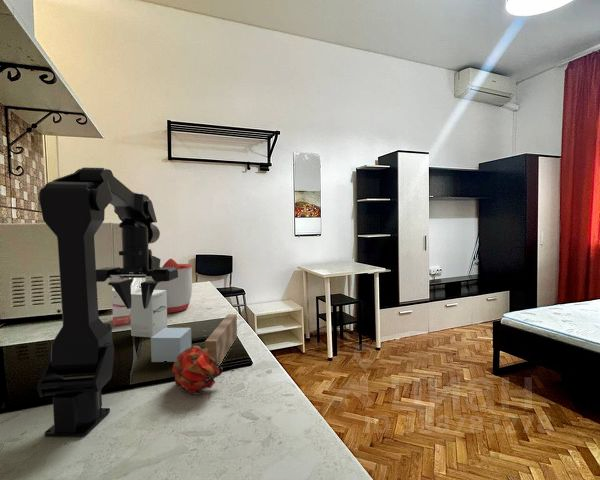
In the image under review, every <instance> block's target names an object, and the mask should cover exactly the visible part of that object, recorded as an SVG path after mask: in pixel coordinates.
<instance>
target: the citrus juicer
mask: <svg viewBox="0 0 600 480" xmlns="http://www.w3.org/2000/svg"><path fill="white" fill-rule="evenodd" d="M162 267H175V268H176V269H177V271H178V278H175V279H173V280H170V281H162V282H159V283H158V284H157V285H156V287H155V289H154V290H166V294H167V314H170V313H177V312H182V311H185V310H187V309H188V308H189V305H190V302H191V299H192V293H193V274H192V272H193V269H192V267H193V265H192V264H189V263H178V262H176V261H175V260H174V259H173V258H169V259H168V260H166V262H165V263H164V264H163V265H162ZM159 268H161V266H160V267H159Z"/></svg>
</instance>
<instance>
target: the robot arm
mask: <svg viewBox="0 0 600 480" xmlns="http://www.w3.org/2000/svg"><path fill="white" fill-rule="evenodd" d="M37 201H38V204H39V207H40V210H41V217H42V221H43V222H44V223H45V225H46V226H47V227H48V228H49V229H50V231H51V232H52V233H53V234H54V235H55V237H56V240H57V241H56V243H57V254H58V255H57V256H58V270H59V282H60V283H59V285H60V286H59V287H60V298H61V299H60V301H61V302H60V303H61V314H62V327H61V328H60V329H59V331H58V332H57V334H56V336H55V338H54V339H53V341H52V343H51V346H50V347H51V348H50V349H51V351H50V356H49V358H48V360H47V363H46V365H45V366H44V370H43V371H42V373H41V376H40V378H39V380H38V383H37V384H36V391H37V393H38V395H39V397H46V396H52V407H53V408H52V410H53V413H52V414H53V424H52V426H51V427H49V428H48V429H46V430H45V431H44V436H45V437H85V436H86V435H87V434H88V433H90V431H92V429H93V428H94V427H96V426H97V425H98V424H99V423H100V422H101V421H102V420H103V419H104V418H105V417H106V416H107V415H108V414H110V413H111V408H109V407H103V402H102V400H103V399H102V389H103V388H104V387H105V385H106V384H107V383H109V381H110V380H111V379H112V377H113V368H114V361H115V346H114V341H113V327H112V326H111V323H109V322H107V323H104V322H103V321H102V320H101V319H100V317H99V316H100V315H99V302H98V283H99V282H100V283H101V282H106V281H107V280H108V279H109V282H107V285H108V286H111V288H112V287H113V288H114V289H115V291H116V292H117V293H118V295H119V296H120V298H121V299H122V301H123V303H124V304H125V306H126V307H127V309H130V308H131V294H132V283H133V278H134V279H140V278H141V279H144V278H145V281H143V282H140V290H141V291H140V292H142V302H143V307H144V309H146V308H148V305H149V302H150V299H151V296H152V293H153V291H154V289H155V287H156V285H157V284H158V283H159V282H162V281H170V280H173V279H175V278H178V271H177V269H176V268H175V267H163V266H161V258H159V257H157V256H155V255H153V253H152V249H151V248H150V249H149V245H151V244H155V243H156V242H157V241H158V240H159V238H160V236H161V235H160V234H161V232H160V229H159V227H158V226H156V224H153V223H157V222H158V221H157V216H156V212H155V208H154V204H153V202H152V200H151V199H150V198H149V196H148V195H147V194H144V193H139V192H135V191H132V190H131V189H130V188H128V187H127V186H126V185H125V184H124V183H123V182H121V181H120V180H119V179H118V178H116V176H114V173H113V172H112V170H111V169H107V168H106V167H82V168H79V169H77V170H75V172H72V173H70V174H67V175H64V176H60V177H58V178H56V179H53V180H52V181H49V182H47V183H45V185H44V186H43V188H41V187H40V190H39V192H38V196H37ZM108 205H111V206H113V209H114V211H113V212H114V213H115V214H116V215H117V217H118V219H119V220H120V221H121V222H120V223H119V224H118V227H119V228H120V229H121V246H122V247H121V250H119V251H118V255H119V256H122V267H120V266H115V267H114V266H111V267H110V266H109V267H108V266H107V267H102V268H98V269H97V267H96V266H97V265H96V262H97V261H96V248H95V245H96V244H95V235H96V233H97V232H98V230H99V229H100V227H101V226H102V224H103V223H104V222H105V211H106V208H107V207H108ZM159 267H160V268H159ZM97 282H98V283H97ZM85 374H94V375H85ZM71 375H82V376H71ZM83 375H84V376H83ZM64 376H69V377H64ZM70 376H71V377H70Z"/></svg>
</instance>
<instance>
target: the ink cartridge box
mask: <svg viewBox="0 0 600 480" xmlns="http://www.w3.org/2000/svg"><path fill="white" fill-rule="evenodd" d="M111 288H112V289H111V297H112V301H111V302H112V303H111V305H112V325H113V326H120V325H121V326H122V325H129V324H131V309H127V307H126V306H125V304H124V303H123V301H122V299H121V298H120V296H119V295H118V293H117V292H116V291H115V289H114V288H113V287H112V286H111Z"/></svg>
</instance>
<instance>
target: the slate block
mask: <svg viewBox="0 0 600 480" xmlns="http://www.w3.org/2000/svg"><path fill="white" fill-rule="evenodd" d="M191 347H192V328H191V327H167V328H164V329H162V330H161V331H159V332H158V333H157V334H155V335H154V336H153V337H150V353H151V354H150V355H151V363H165V362H164V361H167V362H166V363H176V362H177V357H178V356H179V354H180V353H182V352H183V351H185V350H186V349H187V348H191Z"/></svg>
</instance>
